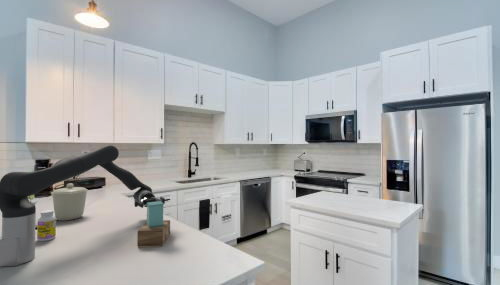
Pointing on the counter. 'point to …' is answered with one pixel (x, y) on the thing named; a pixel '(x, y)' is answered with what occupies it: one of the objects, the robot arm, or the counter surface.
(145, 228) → the wooden crate
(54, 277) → the counter surface
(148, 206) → the teal lidded bin
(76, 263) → the counter surface
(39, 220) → the supplement bottle
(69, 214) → the canister
